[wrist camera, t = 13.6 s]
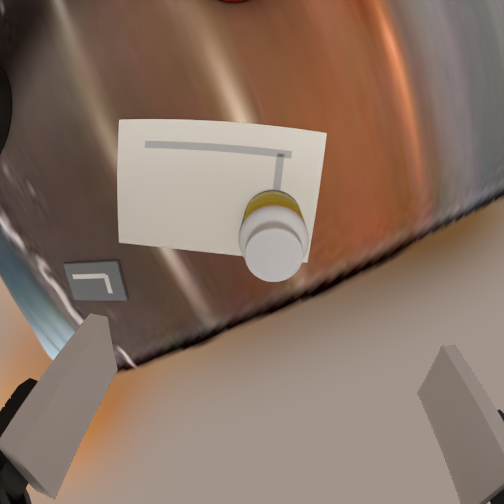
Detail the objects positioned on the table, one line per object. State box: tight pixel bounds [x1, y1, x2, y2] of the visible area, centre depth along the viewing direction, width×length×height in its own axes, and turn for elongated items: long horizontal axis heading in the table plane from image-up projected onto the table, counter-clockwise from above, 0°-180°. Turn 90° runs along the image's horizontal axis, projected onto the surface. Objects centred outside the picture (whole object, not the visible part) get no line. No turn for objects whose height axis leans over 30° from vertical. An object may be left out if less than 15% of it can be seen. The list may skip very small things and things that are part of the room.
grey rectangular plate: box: [63, 260, 129, 301], centre depth 35 cm, size 8×5×1 cm, turn 95°
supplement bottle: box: [239, 189, 309, 282], centre depth 26 cm, size 5×5×10 cm
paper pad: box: [117, 119, 327, 263], centre depth 30 cm, size 20×13×1 cm, turn 85°
